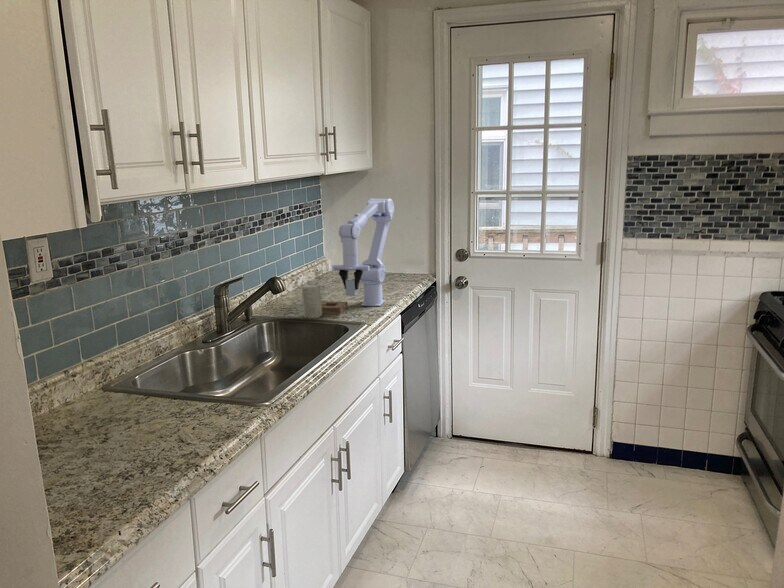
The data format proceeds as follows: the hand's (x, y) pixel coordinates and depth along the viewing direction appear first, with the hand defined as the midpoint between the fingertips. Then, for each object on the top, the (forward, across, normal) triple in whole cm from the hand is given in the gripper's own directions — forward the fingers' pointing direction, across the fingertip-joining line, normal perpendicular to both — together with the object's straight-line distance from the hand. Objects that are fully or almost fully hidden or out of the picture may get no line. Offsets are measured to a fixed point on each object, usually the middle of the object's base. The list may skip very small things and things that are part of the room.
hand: (351, 289), depth 251 cm
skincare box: (+10, -14, -8) cm, 19 cm away
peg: (+2, 0, 0) cm, 2 cm away
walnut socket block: (+9, -10, +2) cm, 14 cm away
